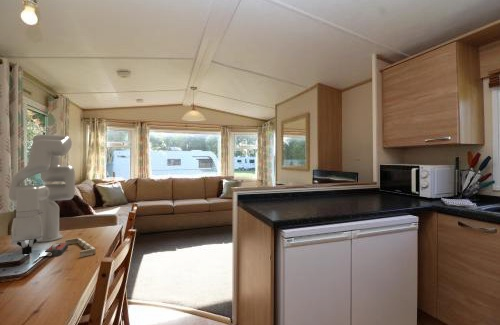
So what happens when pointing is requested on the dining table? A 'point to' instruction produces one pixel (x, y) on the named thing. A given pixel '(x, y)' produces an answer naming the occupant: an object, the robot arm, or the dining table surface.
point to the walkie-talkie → (57, 249)
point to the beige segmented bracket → (88, 247)
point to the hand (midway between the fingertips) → (26, 255)
